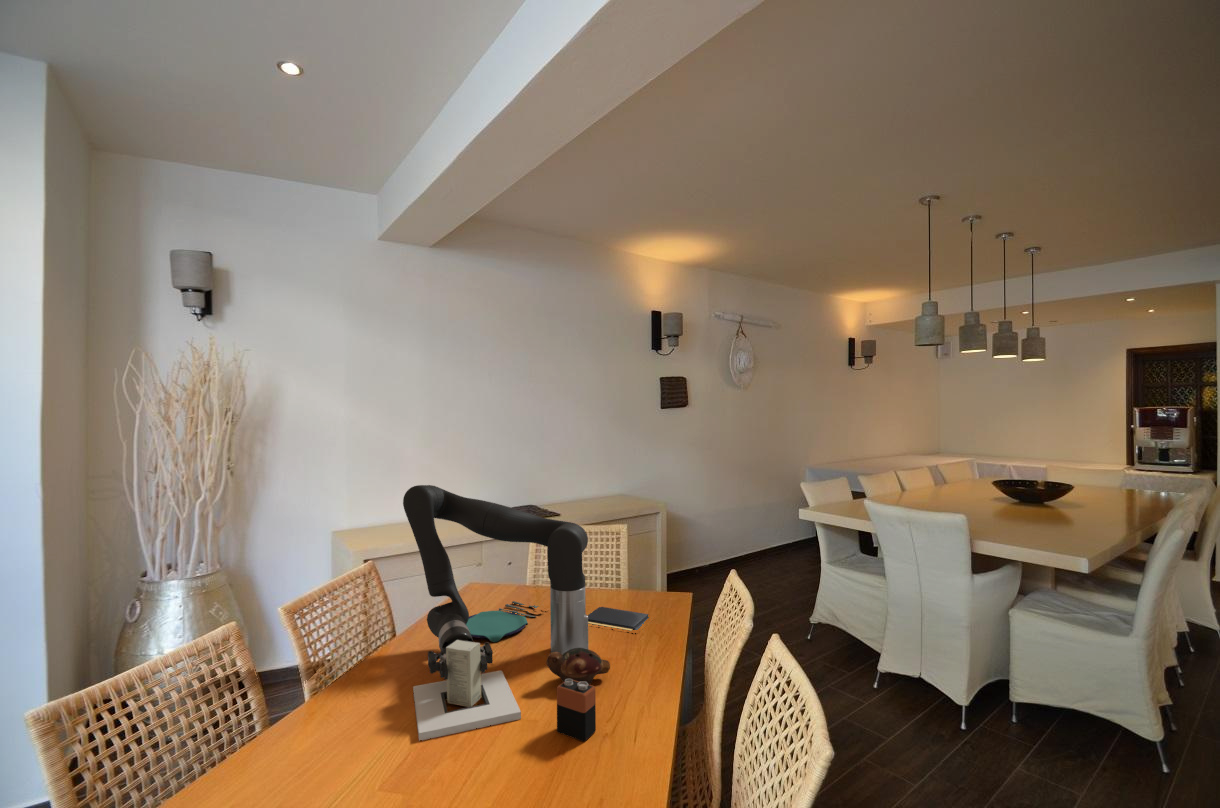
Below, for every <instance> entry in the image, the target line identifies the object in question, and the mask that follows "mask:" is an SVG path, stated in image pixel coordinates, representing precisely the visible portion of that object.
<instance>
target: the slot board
mask: <svg viewBox="0 0 1220 808" xmlns="http://www.w3.org/2000/svg"><path fill="white" fill-rule="evenodd" d="M412 689H413V690H412V691H413V692H412V693H414V694H413V701H414V702H415V703H414V709H415V710H414V711H415V719H416V720H415V721H416V725H417V736H418V742H420V740H422V741H425V740H430V738H431V739H435V738H440V737H444V736H449V735H452V734H453V735H454V734H457V733H462V732H463V733H464V732H468V731H472V730H476V728H477V729H481V728H486V727H490V725H491V726H495V725H499V724H503V723H509V722H513V721H518V720H521V719H522V712H521V709H520V706H519V704H518V702H517V700H516V698H515V696H514V694H513V691H512V689H511V688H510V684H509V683H508V680H507V679H506V676H505V674H504V672H503V670H496V671H490V672H485V673H481V699H482V702H483V703H482V704H479V705H473V706H472V707H464V708H458V709H453V710H449V711H448V707H447V702H446V701H447V679H446V680H441V681H435V682H429V683H424V684H420V685H414V686H412Z"/></svg>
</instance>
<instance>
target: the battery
mask: <svg viewBox="0 0 1220 808" xmlns="http://www.w3.org/2000/svg"><path fill="white" fill-rule="evenodd" d="M596 704H597V703H596V686H594V685H591V684H590V685H588V683H587V682H578V681H575V680H572V679H565V682H563V681H562V683H560V684H559V685H558V686H557V687H556V731H557V733H559V734H561V735H563V736H567V737H570V738H572V739H576V740H578V741H581V742H586V741H587V740H588V739H589V738H590V737H591V736H592V735H593V734H595V732H596V730H597V729H596V727H597V726H596V721H597V720H596V718H597V717H596V716H597V715H596Z"/></svg>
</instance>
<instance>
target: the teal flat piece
mask: <svg viewBox="0 0 1220 808" xmlns="http://www.w3.org/2000/svg"><path fill="white" fill-rule="evenodd" d="M512 603H514V604H519V605H525V604H523V603H522V602H519V601H515V600H513V601H511V604H508V603H506V604H505V605H504V607H506V608H512V609H515V608H516V610H510V609H503V608H500V607H499V608H498V610H486V611H481V612H478V613H475V614H472V615H469V619H468V622H467V624H466V626H467V627H468V629H469V631H470V633H471V636H472V638H475V639H488V640H489V641H490V642H493V643H497V642H499V641H500V640H501V639H502V638H504V637H507V636H511V635H513V634H516V633H519V632H520V631H522V630H523V629H525V628H526V626H528V625H529V623H528V620H527V617H526V616H529V617H528V618H530V617H536V618H537V615H531V614H533V612H530V613H531V614H529V612H528V611H527V612H526V613H523V612H519V609H521V610H520V611H523V610H526V609H524V608H522V607H520V606H519V605H518V606H517V605H513V604H512ZM529 607H534V608H537V607H539V606H538V605H536V604H534V605H529ZM508 611H509V612H508ZM511 612H512V613H511ZM515 613H517V614H515ZM527 613H528V614H527ZM518 614H521V615H525V616H521V615H518Z"/></svg>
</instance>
